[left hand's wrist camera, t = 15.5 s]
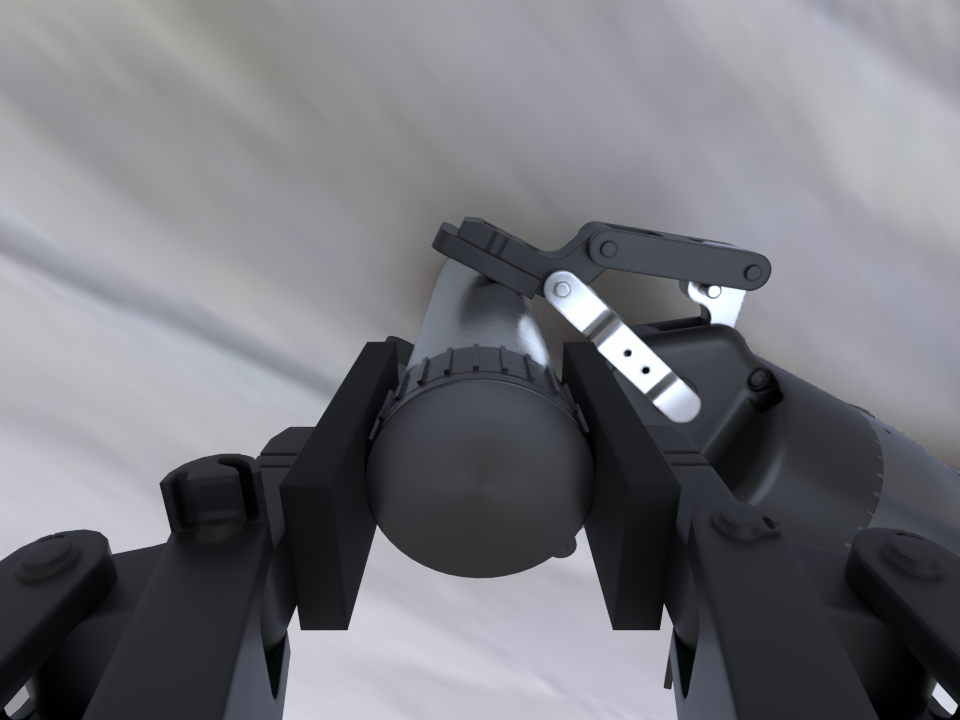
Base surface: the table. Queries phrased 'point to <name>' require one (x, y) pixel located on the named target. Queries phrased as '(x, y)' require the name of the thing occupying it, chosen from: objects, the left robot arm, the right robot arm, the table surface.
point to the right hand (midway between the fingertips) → (410, 296)
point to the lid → (480, 463)
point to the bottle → (477, 317)
